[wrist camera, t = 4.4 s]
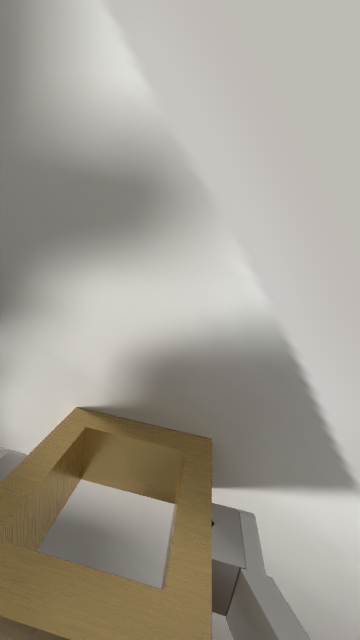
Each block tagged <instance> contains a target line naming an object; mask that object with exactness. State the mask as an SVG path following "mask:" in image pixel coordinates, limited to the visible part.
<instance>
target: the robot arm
mask: <svg viewBox="0 0 360 640" xmlns="http://www.w3.org/2000/svg"><path fill="white" fill-rule="evenodd" d="M27 456H28V455H26V454H23V453H19V452H16V451H12V450H9V449H5V448H2V447H0V482H1V481H2V480H3V479H4V478H5V477H6V476H7V475H8V474H9V473H10V472H11V471H12V470H13V469H14V468H15V467H16V466H18V465H19V464H20V463H21V462H22V461H23V460H24V459H25V458H26V457H27ZM212 612H215V613H218V614H221V615H223V616H226V620H227V623H228V625H229V628H230V631H231V633H232V636H233V639H234V640H311V639H310V638H309V636H308V635H307V633H306V632H305V630H304V628H303V627H302V625H301V624H300V622H299V620H298V619H297V617H296V616H295V614H294V612H293V611H292V609H291V608H290V606H289V604H288V603H287V601H286V600H285V598H284V596H283V595H282V593H281V592H280V590H279V588H278V587H277V585H276V584H275V582H274V581H273V579H272V577H269V576H266V572H265V567H264V561H263V556H262V551H261V545H260V540H259V535H258V529H257V524H256V518H255V516H254V514H253V513H250V512H246V511H242V510H237V509H235V508H231V507H227V506H223V505H219V504H215V503H212Z"/></svg>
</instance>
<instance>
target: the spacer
mask: <svg viewBox="0 0 360 640" xmlns="http://www.w3.org/2000/svg"><path fill="white" fill-rule="evenodd" d="M81 479H83V480H87V481H90V482H94V483H98V484H102V485H105V486H109V487H113V488H117V489H120V490H124V491H128V492H132V493H136V494H139V495H143V496H147V497H151V498H154V499H158V500H162V501H166V502H169V503H173V504H175V506H174V512H173V518H172V525H171V531H170V538H169V544H168V550H167V557H166V563H165V569H164V576H163V582H162V588H161V589H159V588H155V587H152V586H149V585H146V584H142V583H139V582H136V581H132V580H129V579H126V578H122V577H119V576H116V575H112V574H109V573H106V572H102V571H99V570H96V569H93V568H89V567H86V566H83V565H79V564H76V563H73V562H69V561H66V560H63V559H59V558H56V557H53V556H49V555H46V554H43V553H40V552H36V549H37V548H38V546H39V545H40V543H41V542H42V540H43V538H44V537H45V535H46V534H47V532H48V531H49V529H50V527H51V526H52V524H53V523H54V521H55V519H56V518H57V516H58V515H59V513H60V512H61V510H62V508H63V507H64V505H65V504H66V502H67V501H68V499H69V497H70V496H71V494H72V493H73V491H74V489H75V488H76V486H77V485H78V483H79V482H80V480H81ZM0 640H212V474H211V439H208V438H204V437H200V436H196V435H191V434H187V433H183V432H179V431H174V430H170V429H166V428H162V427H157V426H153V425H149V424H145V423H140V422H136V421H132V420H128V419H123V418H119V417H115V416H111V415H107V414H102V413H98V412H94V411H90V410H85V409H81V408H77V407H76V408H75V409H74V410H73V411H72V412H71V413H70V414H69V415H68V416H67V417H66V418H65V419H64V420H63V421H62V422H61V423H60V424H59V425H58V426H57V427H56V428H55V429H54V430H53V431H52V432H51V433H50V434H49V435H48V436H47V437H46V438H45V439H44V440H43V441H42V442H41V443H40V444H39V445H38V446H37V447H36V448H35V449H34V450H33V451H32V452H31V453H30V454H29V455H28V456H27V457H26V458H25V459H24V460H23V461H22V462H21V463H20V464H19V465H18V466H16V467H15V468H14V469H13V470H12V471H11V472H10V473H9V474H8V475H7V476H6V477H5V478H4V479H3V480H2V481H1V482H0Z"/></svg>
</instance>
